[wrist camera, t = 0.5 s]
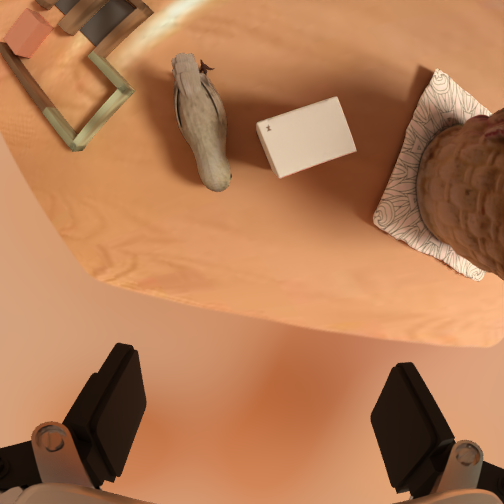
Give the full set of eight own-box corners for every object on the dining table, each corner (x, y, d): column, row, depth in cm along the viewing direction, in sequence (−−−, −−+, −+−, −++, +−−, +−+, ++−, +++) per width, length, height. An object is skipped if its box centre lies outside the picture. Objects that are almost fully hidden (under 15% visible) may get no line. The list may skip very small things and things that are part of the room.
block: (40, 14, 28) (26, 8, 24) (54, 28, 29) (39, 22, 26) (17, 42, 29) (3, 38, 26) (30, 58, 31) (15, 54, 27)
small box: (272, 171, 37) (277, 180, 27) (255, 129, 35) (253, 122, 25) (332, 150, 36) (359, 152, 26) (316, 108, 34) (337, 95, 24)
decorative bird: (202, 193, 38) (190, 204, 31) (173, 74, 33) (154, 59, 26) (244, 183, 38) (241, 191, 30) (214, 62, 32) (204, 43, 25)
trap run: (85, -41, 25) (78, -47, 22) (187, 43, 31) (183, 37, 29) (5, 48, 29) (-4, 46, 27) (82, 150, 36) (72, 151, 34)
